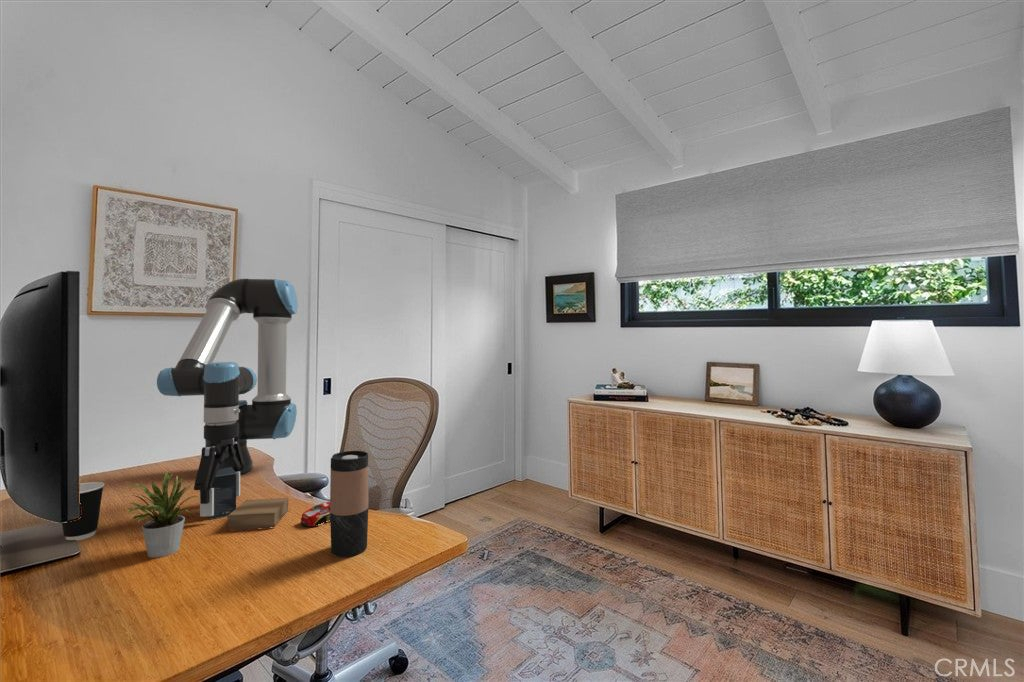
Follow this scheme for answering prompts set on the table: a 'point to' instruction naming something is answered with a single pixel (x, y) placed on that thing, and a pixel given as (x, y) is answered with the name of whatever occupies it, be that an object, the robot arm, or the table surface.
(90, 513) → the dixie cup
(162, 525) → the house plant
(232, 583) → the table surface
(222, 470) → the box
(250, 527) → the walnut pedestal
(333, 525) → the travel mug
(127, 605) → the table surface
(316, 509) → the race car
